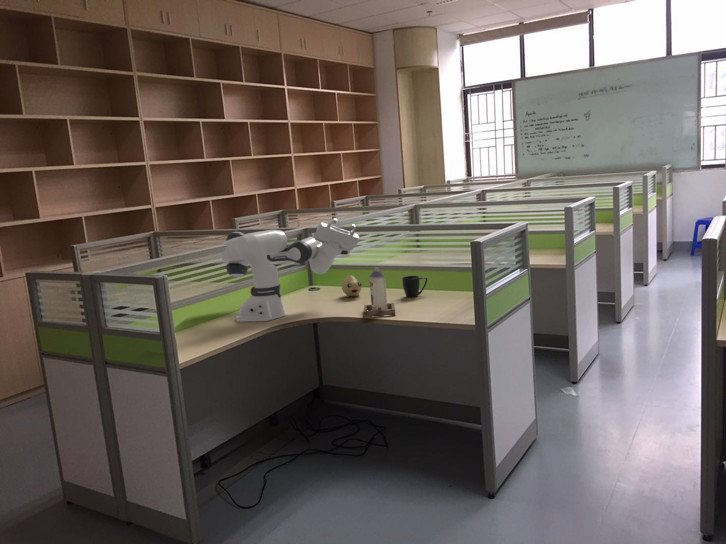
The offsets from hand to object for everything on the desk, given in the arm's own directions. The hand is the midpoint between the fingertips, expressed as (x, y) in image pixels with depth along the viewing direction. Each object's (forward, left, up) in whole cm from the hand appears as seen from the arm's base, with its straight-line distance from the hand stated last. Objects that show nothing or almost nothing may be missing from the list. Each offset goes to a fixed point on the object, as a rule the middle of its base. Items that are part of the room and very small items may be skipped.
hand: (344, 222), depth 277 cm
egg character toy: (0, +25, -40) cm, 47 cm away
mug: (+31, +15, -40) cm, 53 cm away
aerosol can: (+13, -13, -40) cm, 44 cm away
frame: (+13, -14, -40) cm, 44 cm away
